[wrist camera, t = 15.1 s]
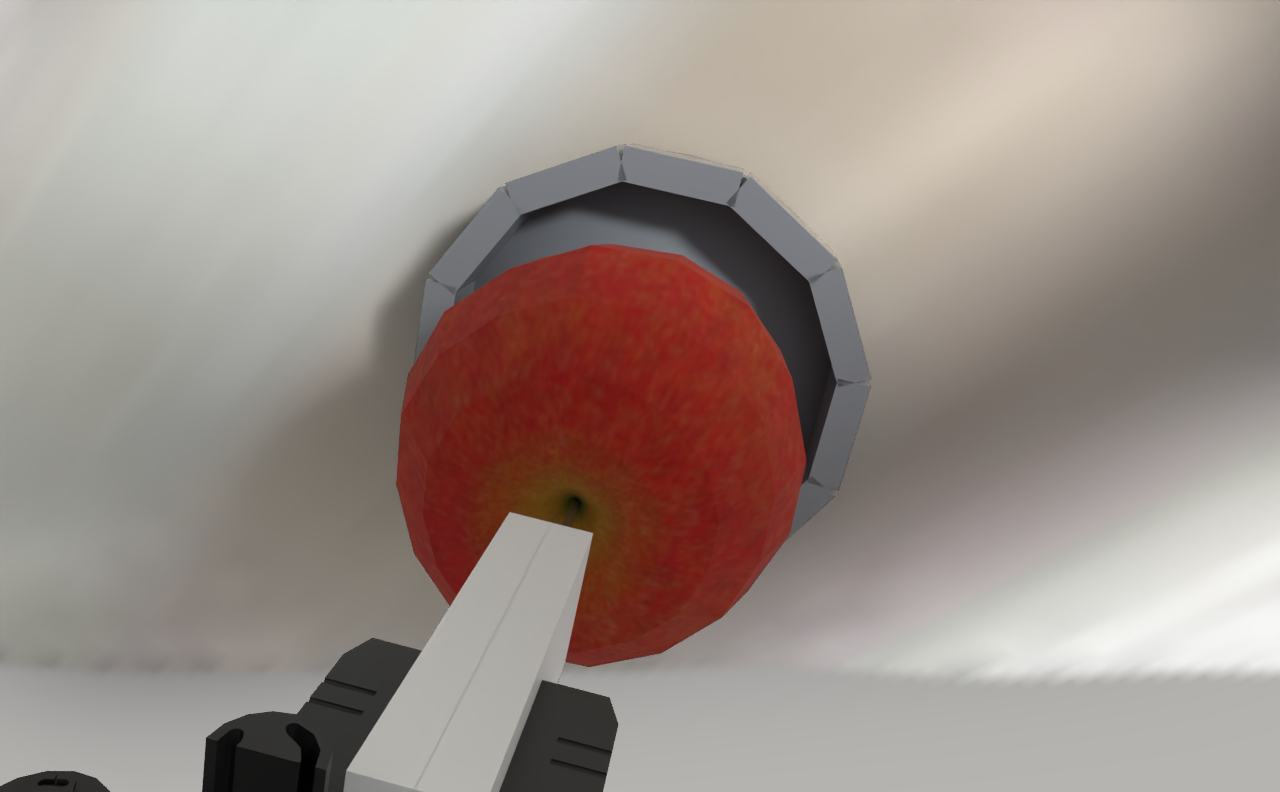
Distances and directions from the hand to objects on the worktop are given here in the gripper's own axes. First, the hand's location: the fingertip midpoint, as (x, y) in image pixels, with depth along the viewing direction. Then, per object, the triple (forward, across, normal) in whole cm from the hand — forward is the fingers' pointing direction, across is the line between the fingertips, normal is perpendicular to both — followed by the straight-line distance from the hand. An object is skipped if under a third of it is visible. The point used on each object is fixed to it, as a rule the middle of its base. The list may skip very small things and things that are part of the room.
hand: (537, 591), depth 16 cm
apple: (+15, 0, 0) cm, 15 cm away
